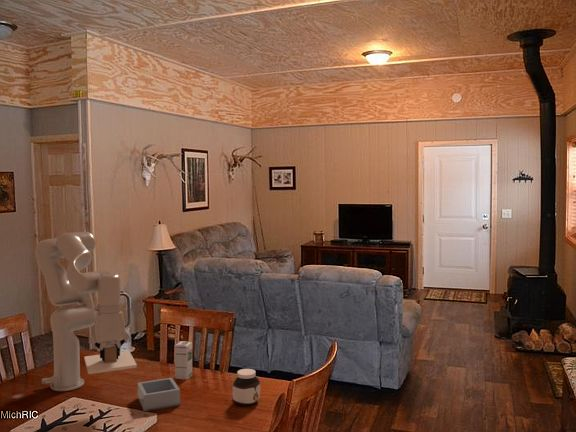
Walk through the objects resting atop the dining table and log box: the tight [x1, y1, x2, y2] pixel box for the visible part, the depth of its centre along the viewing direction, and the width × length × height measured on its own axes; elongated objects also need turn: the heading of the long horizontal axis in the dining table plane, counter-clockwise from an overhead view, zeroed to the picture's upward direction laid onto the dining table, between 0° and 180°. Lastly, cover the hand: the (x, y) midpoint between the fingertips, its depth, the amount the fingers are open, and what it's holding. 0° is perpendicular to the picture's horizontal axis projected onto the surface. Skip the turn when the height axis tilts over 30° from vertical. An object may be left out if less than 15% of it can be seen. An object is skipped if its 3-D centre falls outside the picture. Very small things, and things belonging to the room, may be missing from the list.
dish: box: [137, 377, 181, 412], centre depth 197 cm, size 13×13×6 cm
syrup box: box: [174, 340, 194, 380], centre depth 222 cm, size 6×6×14 cm
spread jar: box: [232, 368, 261, 407], centre depth 199 cm, size 12×11×12 cm
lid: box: [83, 344, 138, 375], centre depth 188 cm, size 16×16×6 cm
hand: (110, 358), depth 189 cm, fingers closed on lid, 4 cm apart
